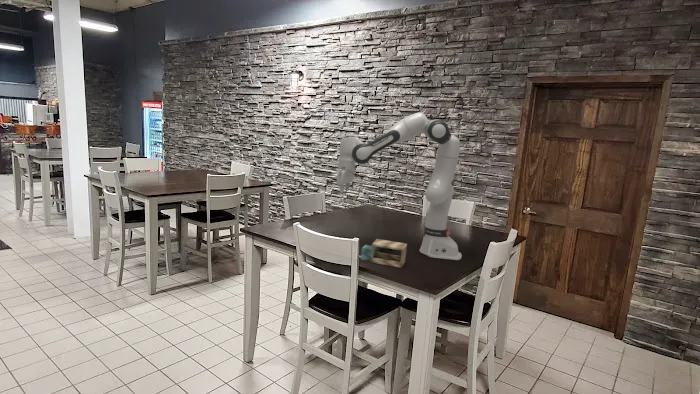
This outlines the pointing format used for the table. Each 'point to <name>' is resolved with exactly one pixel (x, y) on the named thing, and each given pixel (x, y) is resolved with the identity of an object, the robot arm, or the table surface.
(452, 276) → the table surface
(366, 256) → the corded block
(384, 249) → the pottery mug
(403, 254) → the cubby shelf
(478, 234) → the table surface
